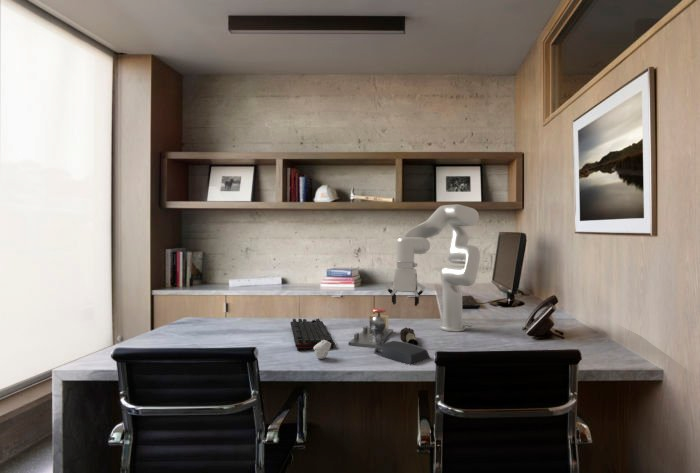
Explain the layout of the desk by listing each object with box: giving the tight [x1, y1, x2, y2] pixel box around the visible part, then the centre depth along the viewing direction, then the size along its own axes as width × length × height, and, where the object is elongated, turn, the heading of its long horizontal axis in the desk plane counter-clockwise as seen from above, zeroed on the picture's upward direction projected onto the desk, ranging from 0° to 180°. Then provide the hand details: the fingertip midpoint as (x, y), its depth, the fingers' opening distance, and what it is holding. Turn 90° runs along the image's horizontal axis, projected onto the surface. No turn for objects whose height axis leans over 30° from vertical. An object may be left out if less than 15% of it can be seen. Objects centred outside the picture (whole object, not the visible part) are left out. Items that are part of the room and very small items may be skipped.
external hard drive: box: [373, 340, 431, 366], centre depth 156 cm, size 13×19×4 cm
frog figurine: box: [313, 340, 331, 360], centre depth 153 cm, size 6×7×7 cm
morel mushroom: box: [399, 326, 420, 346], centre depth 174 cm, size 18×7×6 cm, turn 177°
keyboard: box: [290, 318, 336, 352], centre depth 185 cm, size 42×16×5 cm, turn 11°
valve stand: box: [348, 307, 394, 349], centre depth 182 cm, size 13×29×11 cm, turn 160°
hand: (405, 304), depth 174 cm, fingers open, 9 cm apart
